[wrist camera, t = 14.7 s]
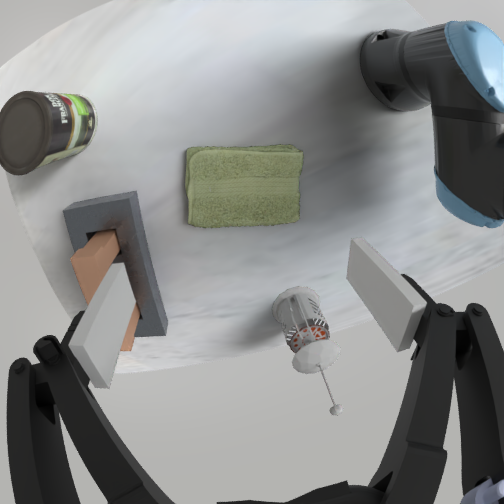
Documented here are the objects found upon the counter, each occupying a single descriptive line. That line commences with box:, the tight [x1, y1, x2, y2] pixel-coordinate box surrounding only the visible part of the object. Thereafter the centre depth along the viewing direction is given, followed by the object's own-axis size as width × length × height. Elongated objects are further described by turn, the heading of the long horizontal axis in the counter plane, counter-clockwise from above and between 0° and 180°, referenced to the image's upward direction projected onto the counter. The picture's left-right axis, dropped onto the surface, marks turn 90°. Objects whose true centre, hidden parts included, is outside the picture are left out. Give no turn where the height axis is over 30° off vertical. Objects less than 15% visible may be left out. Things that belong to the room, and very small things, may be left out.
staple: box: [70, 228, 141, 351], centre depth 41 cm, size 17×4×12 cm, turn 3°
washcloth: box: [185, 144, 304, 228], centre depth 41 cm, size 13×18×3 cm
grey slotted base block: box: [63, 191, 168, 337], centre depth 44 cm, size 26×12×4 cm, turn 3°
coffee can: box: [0, 91, 97, 175], centre depth 27 cm, size 10×10×14 cm
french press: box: [272, 286, 343, 416], centre depth 43 cm, size 10×12×25 cm
